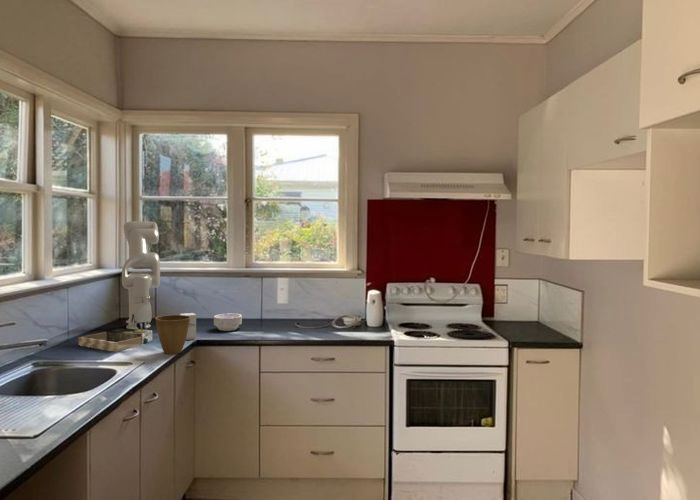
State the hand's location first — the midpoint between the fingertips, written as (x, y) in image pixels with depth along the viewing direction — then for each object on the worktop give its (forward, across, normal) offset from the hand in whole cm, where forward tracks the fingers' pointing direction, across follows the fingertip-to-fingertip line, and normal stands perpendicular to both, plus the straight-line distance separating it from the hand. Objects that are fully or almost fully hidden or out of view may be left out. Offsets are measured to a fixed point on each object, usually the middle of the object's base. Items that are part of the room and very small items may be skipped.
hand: (141, 335), depth 259 cm
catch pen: (+1, +18, 0) cm, 18 cm away
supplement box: (+2, -11, +21) cm, 24 cm away
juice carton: (+2, +7, 0) cm, 8 cm away
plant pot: (+2, +14, +37) cm, 39 cm away
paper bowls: (+2, -38, +23) cm, 45 cm away
